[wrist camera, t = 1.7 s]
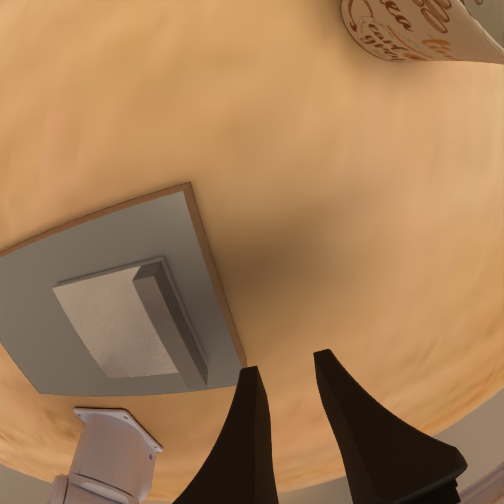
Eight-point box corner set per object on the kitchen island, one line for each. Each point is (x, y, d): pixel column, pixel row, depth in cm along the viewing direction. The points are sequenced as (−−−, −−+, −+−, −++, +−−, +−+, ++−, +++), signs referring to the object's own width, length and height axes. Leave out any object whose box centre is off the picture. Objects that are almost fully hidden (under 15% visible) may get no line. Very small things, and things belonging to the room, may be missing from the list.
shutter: (208, 362, 18) (207, 386, 16) (110, 372, 18) (102, 394, 16) (163, 256, 15) (153, 275, 13) (56, 283, 15) (39, 301, 13)
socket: (246, 359, 21) (248, 383, 19) (47, 377, 22) (39, 393, 20) (190, 181, 16) (182, 191, 13) (-21, 262, 16) (-37, 275, 14)
